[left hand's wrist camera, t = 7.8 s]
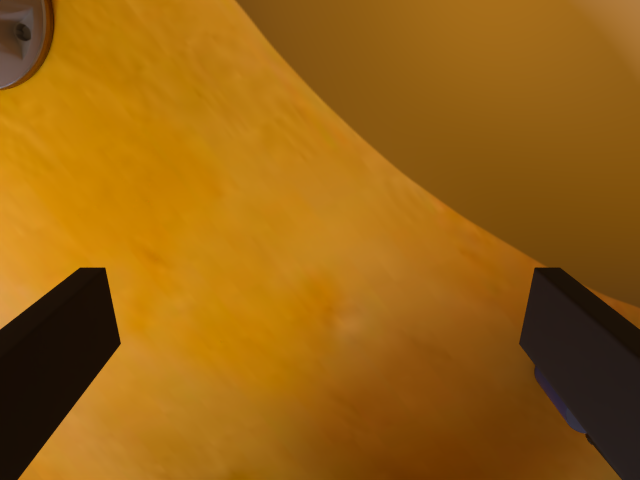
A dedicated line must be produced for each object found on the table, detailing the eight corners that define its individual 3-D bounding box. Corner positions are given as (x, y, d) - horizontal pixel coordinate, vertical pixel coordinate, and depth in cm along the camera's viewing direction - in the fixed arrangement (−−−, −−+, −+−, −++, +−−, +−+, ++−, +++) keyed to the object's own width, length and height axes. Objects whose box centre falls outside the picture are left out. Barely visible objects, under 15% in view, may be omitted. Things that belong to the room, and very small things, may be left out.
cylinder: (522, 372, 53) (552, 415, 46) (563, 335, 51) (601, 374, 44) (560, 398, 54) (594, 443, 47) (601, 362, 52) (643, 404, 45)
